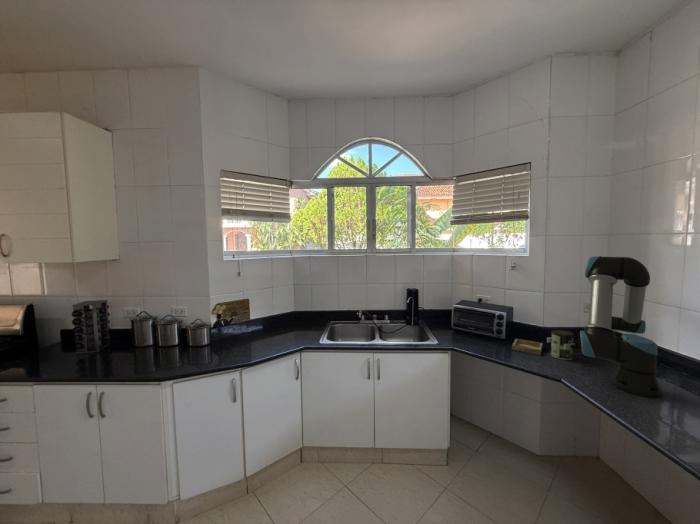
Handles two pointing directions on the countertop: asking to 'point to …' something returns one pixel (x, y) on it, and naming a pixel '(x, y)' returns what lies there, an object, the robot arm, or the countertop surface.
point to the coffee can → (561, 344)
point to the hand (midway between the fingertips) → (555, 343)
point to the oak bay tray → (527, 346)
